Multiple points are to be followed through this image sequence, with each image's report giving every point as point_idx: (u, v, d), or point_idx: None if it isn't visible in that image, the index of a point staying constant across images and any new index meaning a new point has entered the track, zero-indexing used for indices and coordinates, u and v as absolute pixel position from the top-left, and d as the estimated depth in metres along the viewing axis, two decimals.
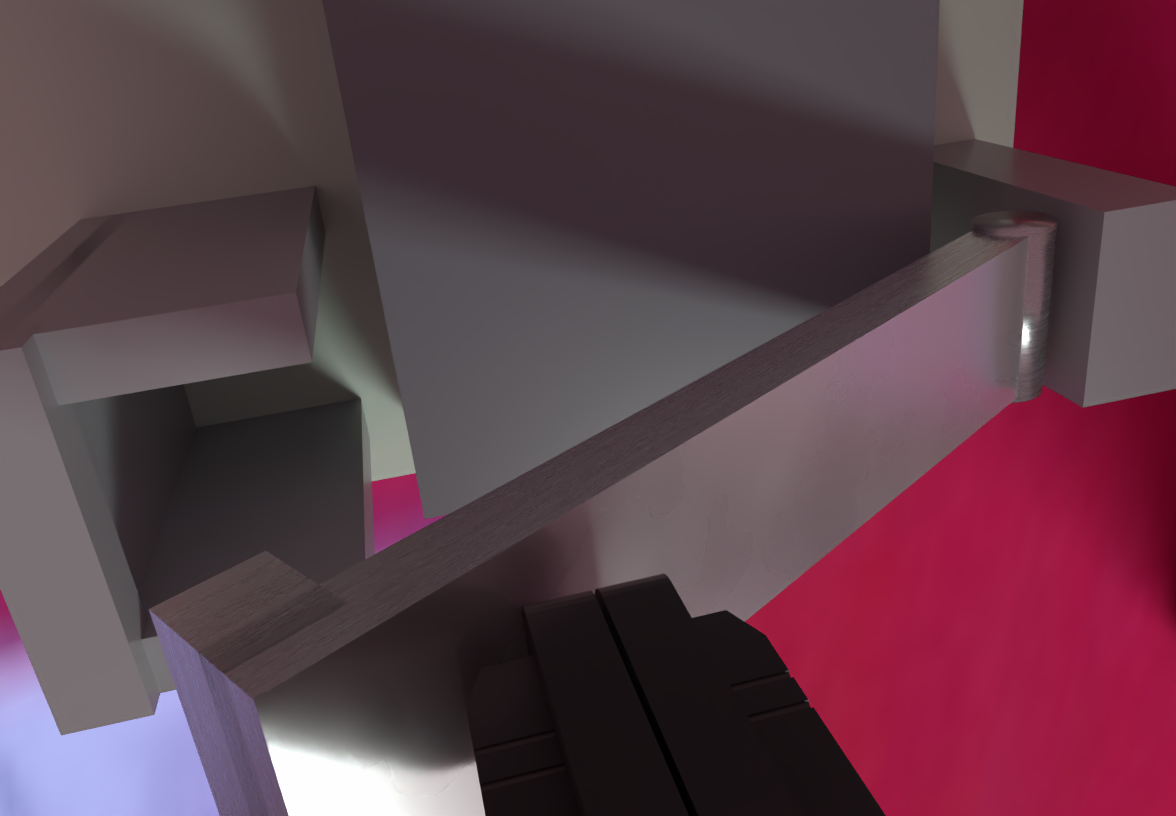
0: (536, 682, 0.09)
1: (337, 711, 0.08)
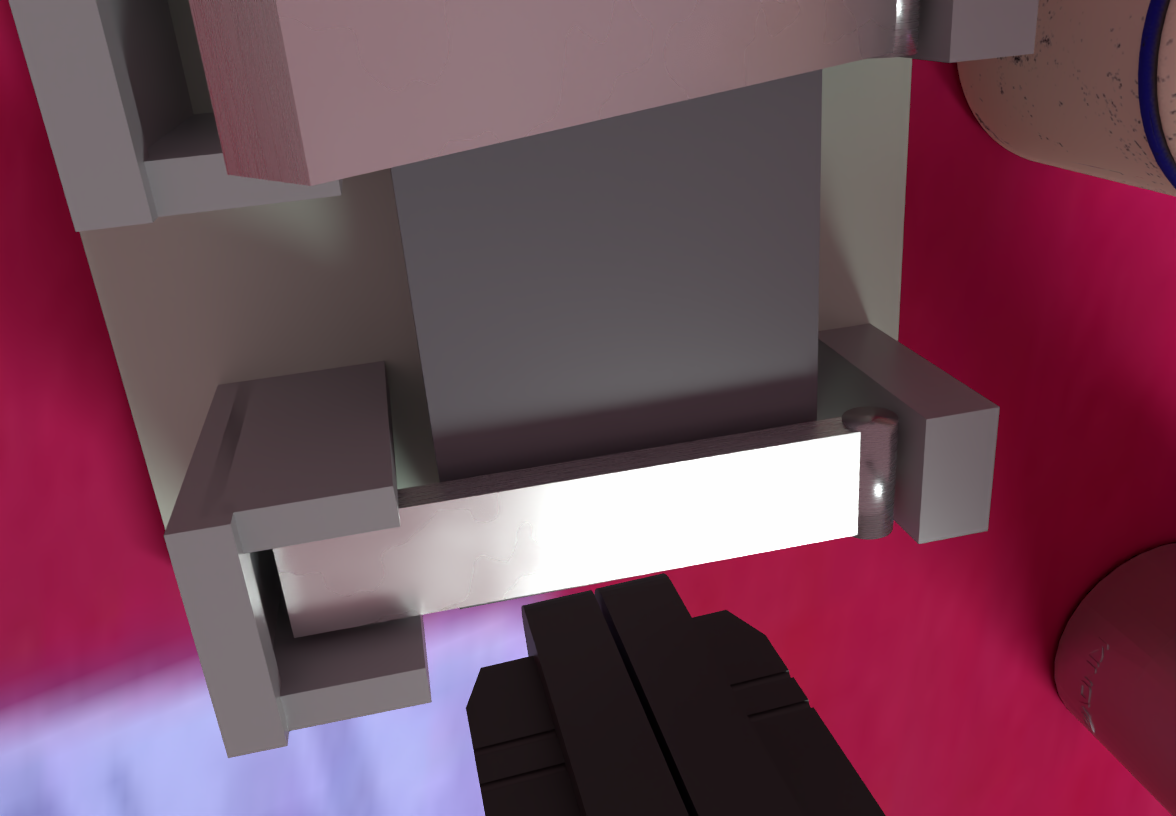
0: (536, 682, 0.09)
1: (301, 546, 0.23)
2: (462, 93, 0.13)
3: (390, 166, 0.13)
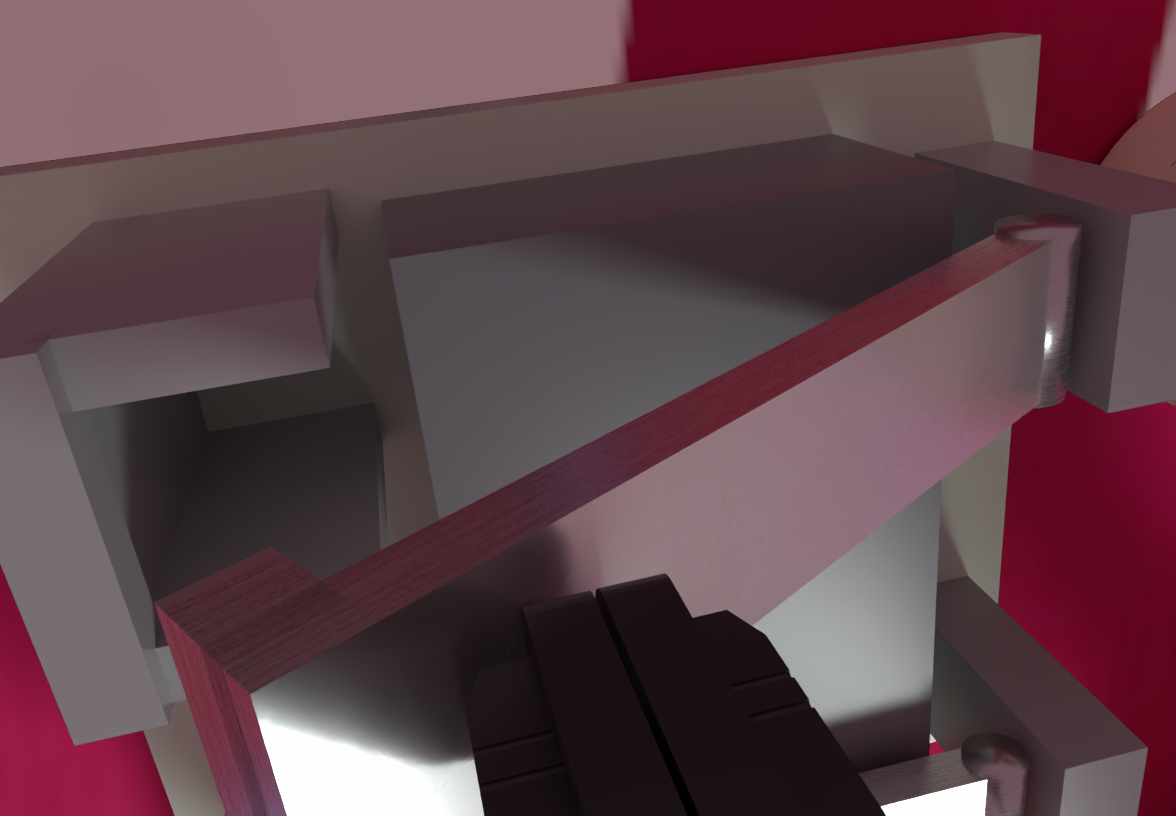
0: (536, 682, 0.09)
1: None
2: None
3: None
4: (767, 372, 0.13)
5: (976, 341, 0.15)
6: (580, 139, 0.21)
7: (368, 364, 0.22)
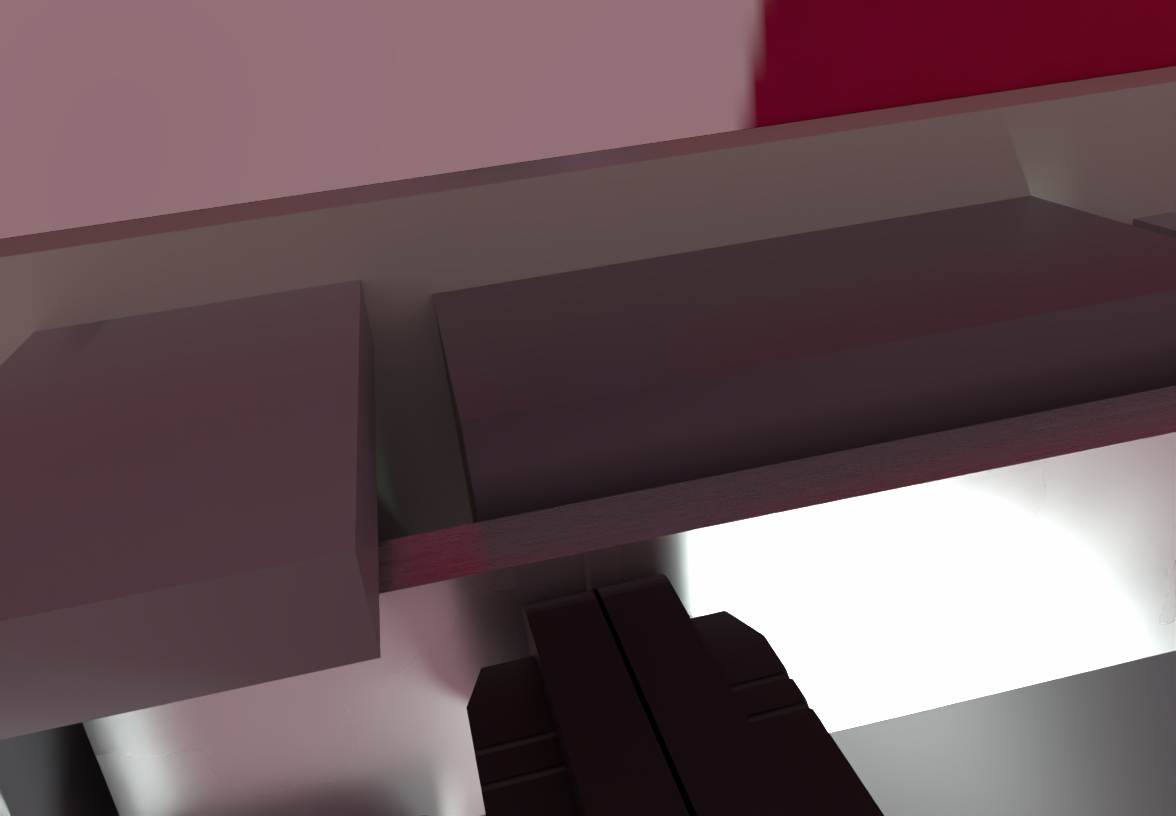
0: (537, 682, 0.09)
1: None
2: (378, 785, 0.10)
3: None
4: (800, 480, 0.11)
5: None
6: (701, 208, 0.15)
7: (411, 505, 0.16)
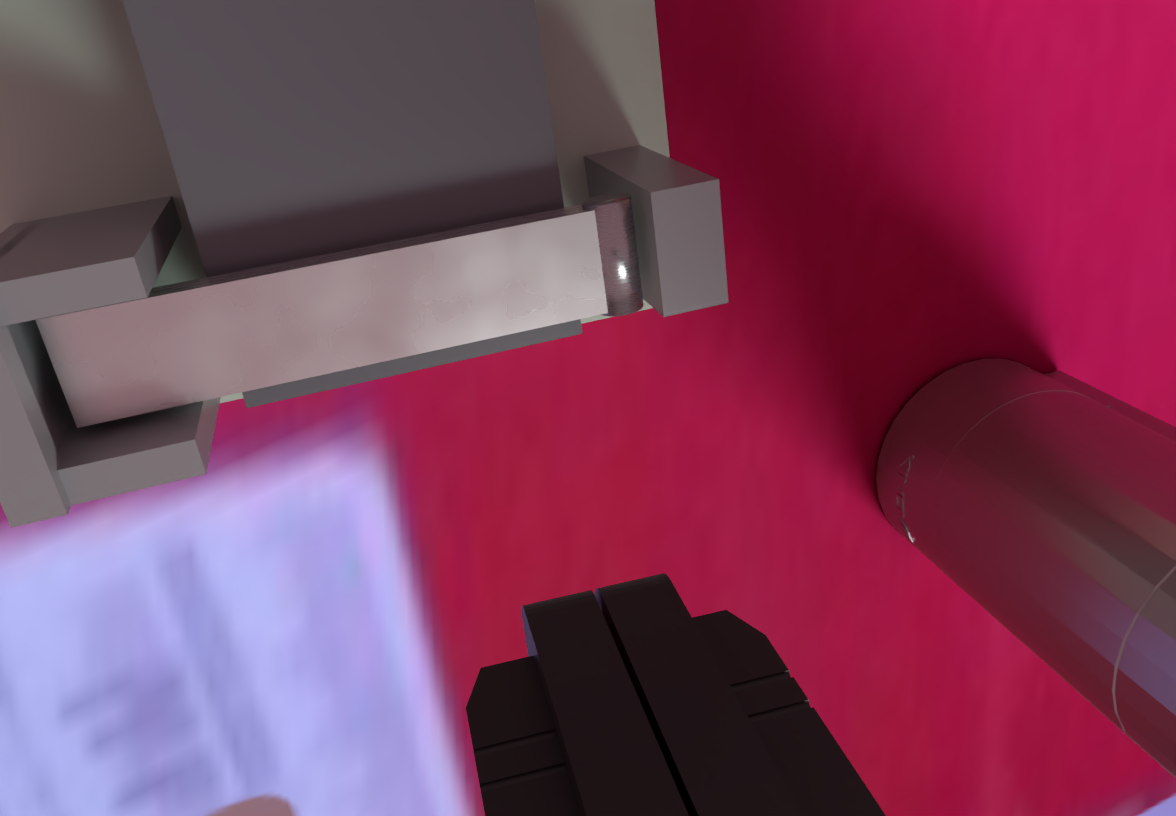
0: (536, 682, 0.09)
1: (70, 335, 0.25)
2: None
3: None
4: None
5: None
6: None
7: None
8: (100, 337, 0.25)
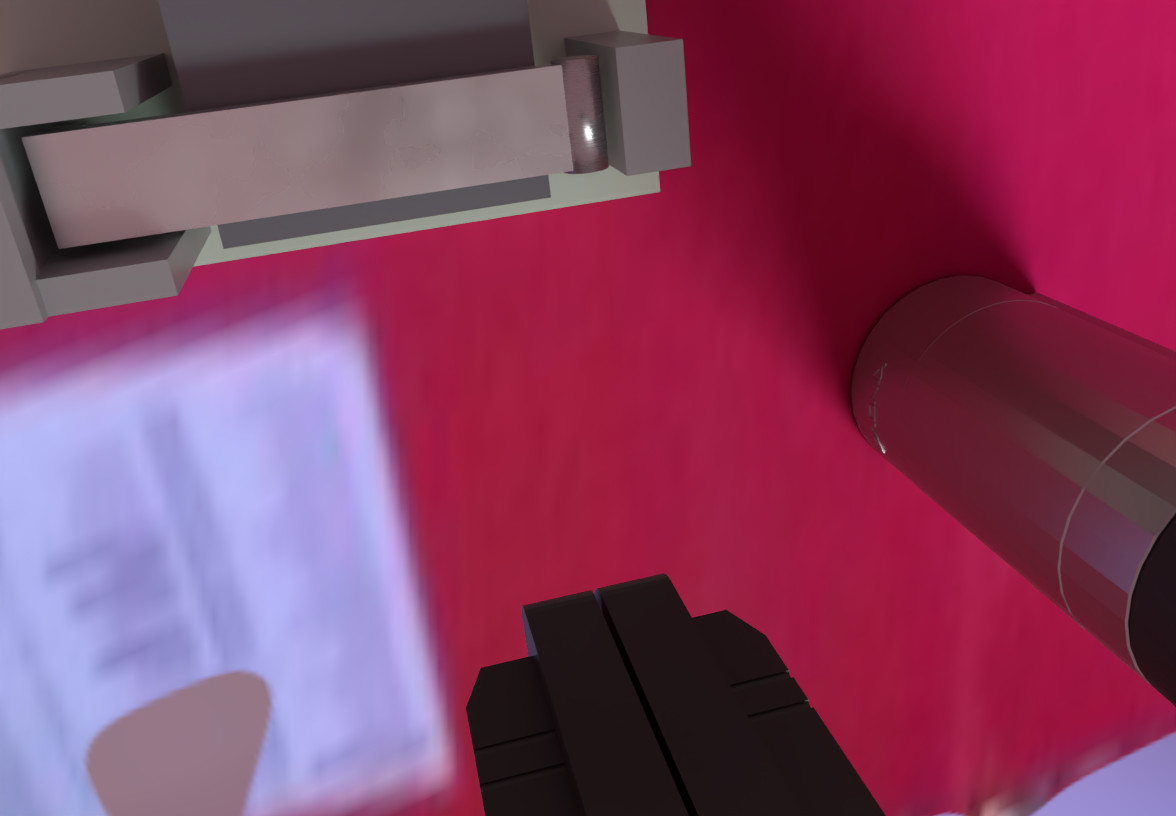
0: (537, 682, 0.09)
1: (53, 155, 0.26)
2: None
3: None
4: None
5: None
6: None
7: None
8: (82, 159, 0.26)
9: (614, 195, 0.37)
